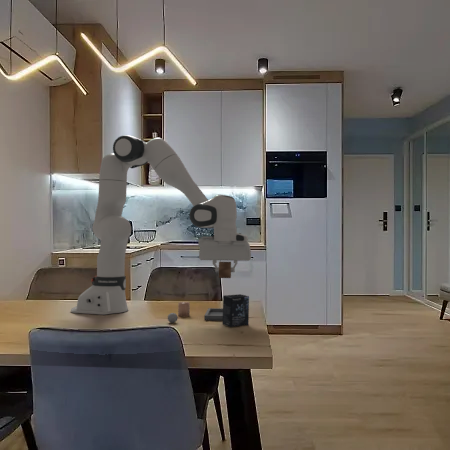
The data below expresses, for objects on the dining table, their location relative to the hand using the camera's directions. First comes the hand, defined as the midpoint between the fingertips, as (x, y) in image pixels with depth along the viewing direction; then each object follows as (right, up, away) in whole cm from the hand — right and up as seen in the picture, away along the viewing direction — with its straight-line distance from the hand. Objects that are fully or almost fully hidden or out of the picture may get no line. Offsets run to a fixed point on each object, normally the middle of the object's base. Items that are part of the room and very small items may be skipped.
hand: (225, 272), depth 201 cm
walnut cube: (0, -2, 0) cm, 2 cm away
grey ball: (-19, -17, -13) cm, 29 cm away
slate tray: (0, -17, 0) cm, 17 cm away
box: (+4, -18, -15) cm, 24 cm away
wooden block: (-16, -17, +2) cm, 24 cm away
